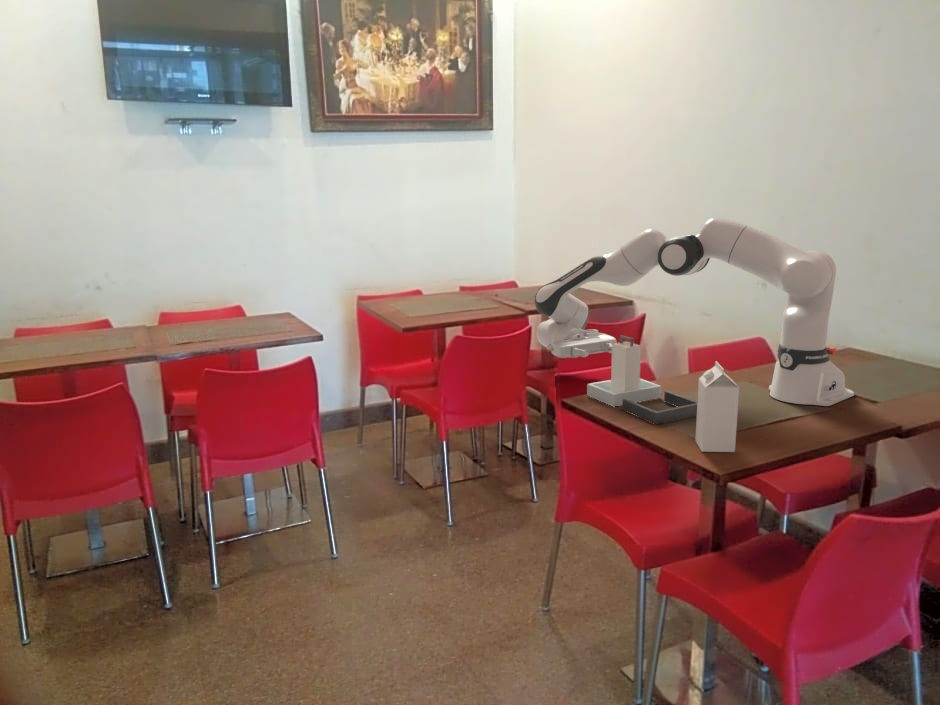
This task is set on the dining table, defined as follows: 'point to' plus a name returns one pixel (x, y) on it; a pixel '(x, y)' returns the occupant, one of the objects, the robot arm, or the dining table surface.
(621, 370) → the white block with handle
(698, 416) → the milk carton
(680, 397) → the tray
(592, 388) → the tray
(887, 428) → the dining table surface
